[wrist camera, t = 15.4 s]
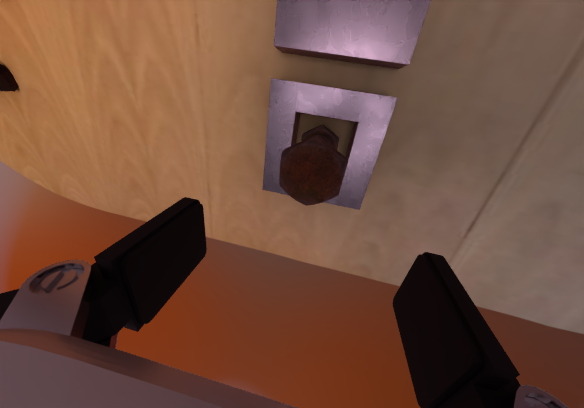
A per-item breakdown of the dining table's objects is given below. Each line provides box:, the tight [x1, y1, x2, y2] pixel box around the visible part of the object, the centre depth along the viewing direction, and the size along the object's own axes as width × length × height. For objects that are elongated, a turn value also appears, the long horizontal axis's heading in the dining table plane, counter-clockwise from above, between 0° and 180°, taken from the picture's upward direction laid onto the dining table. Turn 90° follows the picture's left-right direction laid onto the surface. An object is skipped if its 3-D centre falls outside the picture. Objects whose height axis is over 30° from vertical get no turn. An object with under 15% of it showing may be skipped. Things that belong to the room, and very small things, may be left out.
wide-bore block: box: [263, 78, 397, 210], centre depth 28 cm, size 14×14×4 cm
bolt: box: [279, 125, 346, 205], centre depth 23 cm, size 6×5×15 cm
